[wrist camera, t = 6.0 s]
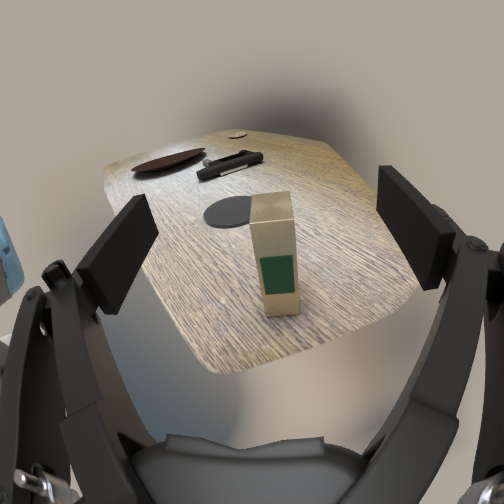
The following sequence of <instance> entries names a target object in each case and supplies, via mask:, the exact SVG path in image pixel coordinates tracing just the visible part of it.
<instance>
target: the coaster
mask: <svg viewBox="0 0 504 504" xmlns="http://www.w3.org/2000/svg"><path fill="white" fill-rule="evenodd" d="M251 202H252V197H251V196H234V197H229V198H225V199H222V200H220V201H217V202H215V203H214V204H212V205H211V206H209V207H208V208H207V209H206V211H205V212H204V220H205V222H206V223H207V224H208V225H210V226H212V227H217V228H232V227H238V226H241V225H244V224H247V223H249V221H250V211H251Z"/></svg>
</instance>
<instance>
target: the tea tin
mask: <svg viewBox="0 0 504 504" xmlns="http://www.w3.org/2000/svg"><path fill="white" fill-rule="evenodd" d="M249 225H250V231H251V236H252V242H253V248H254V253H255V259H256V264H257V270H258V275H259V281H260V286H261V292H262V297H263V303H264V309H265V314H266V317H276V316H289V315H299V314H300V313H299V289H298V270H297V253H296V238H295V224H294V216H293V210H292V204H291V198H290V192H289V191H284V192H274V193H265V194H255V195H252V202H251V211H250V221H249Z"/></svg>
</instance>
